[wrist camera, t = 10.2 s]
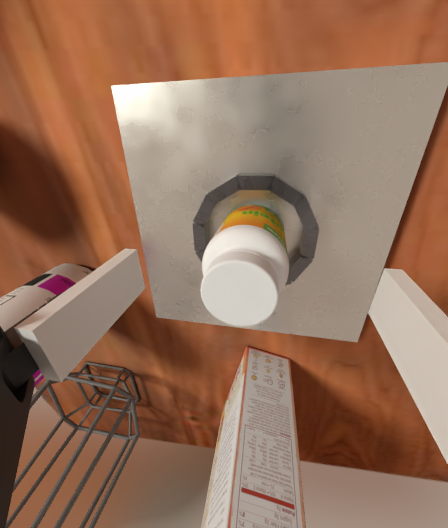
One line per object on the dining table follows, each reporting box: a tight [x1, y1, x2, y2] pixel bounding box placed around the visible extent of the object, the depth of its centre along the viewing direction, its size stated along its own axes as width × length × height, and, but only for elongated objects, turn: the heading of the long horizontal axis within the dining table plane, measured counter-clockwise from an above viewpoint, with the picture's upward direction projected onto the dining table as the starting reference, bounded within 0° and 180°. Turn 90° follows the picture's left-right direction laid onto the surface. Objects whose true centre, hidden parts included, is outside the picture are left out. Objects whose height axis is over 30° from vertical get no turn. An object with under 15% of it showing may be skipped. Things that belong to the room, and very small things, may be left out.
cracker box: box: [201, 346, 306, 528], centre depth 22 cm, size 14×6×21 cm, turn 167°
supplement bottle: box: [201, 203, 289, 326], centre depth 16 cm, size 5×5×10 cm
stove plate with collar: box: [111, 62, 448, 342], centre depth 20 cm, size 22×22×3 cm
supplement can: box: [0, 264, 93, 388], centre depth 22 cm, size 8×8×15 cm
